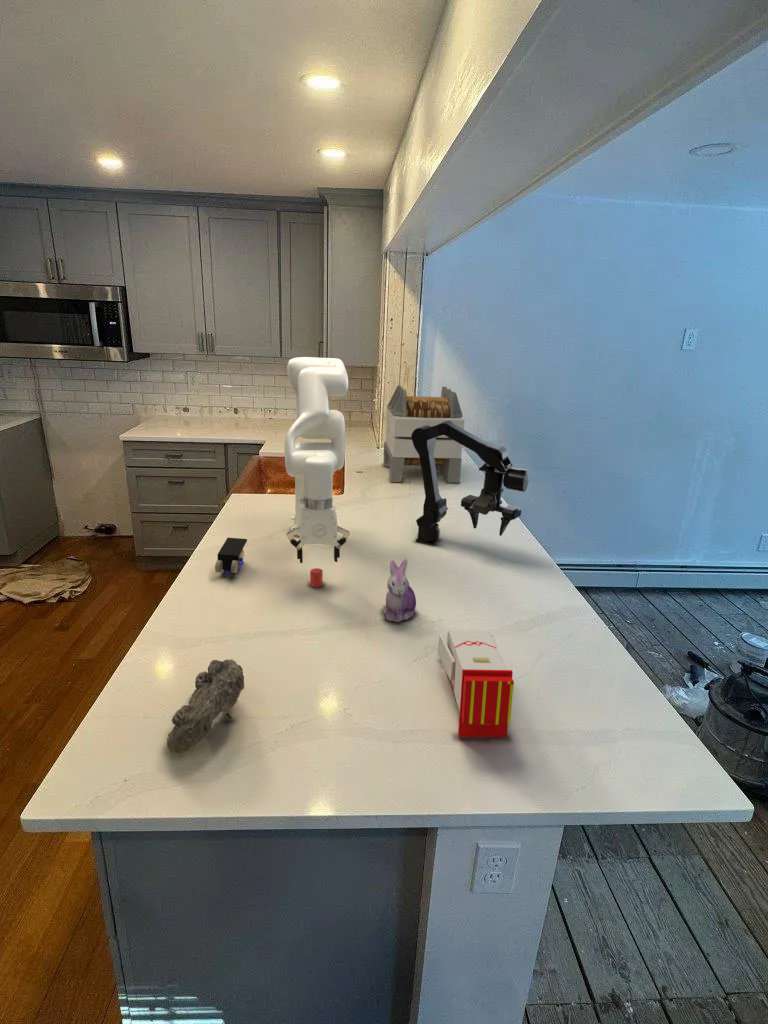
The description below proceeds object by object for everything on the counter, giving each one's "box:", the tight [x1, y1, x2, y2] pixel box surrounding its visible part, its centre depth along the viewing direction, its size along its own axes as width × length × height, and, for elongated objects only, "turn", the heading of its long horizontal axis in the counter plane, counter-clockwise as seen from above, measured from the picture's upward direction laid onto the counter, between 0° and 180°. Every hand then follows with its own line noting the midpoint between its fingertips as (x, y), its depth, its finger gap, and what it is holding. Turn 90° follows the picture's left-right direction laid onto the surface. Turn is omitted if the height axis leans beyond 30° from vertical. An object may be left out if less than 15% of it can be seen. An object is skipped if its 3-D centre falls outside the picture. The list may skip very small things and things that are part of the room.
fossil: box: [166, 658, 245, 754], centre depth 106 cm, size 22×10×15 cm
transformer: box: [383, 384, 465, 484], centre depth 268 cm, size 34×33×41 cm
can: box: [309, 567, 324, 588], centre depth 160 cm, size 4×4×4 cm
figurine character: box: [214, 537, 248, 578], centre depth 166 cm, size 7×8×15 cm
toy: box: [437, 628, 515, 738], centre depth 117 cm, size 12×13×30 cm
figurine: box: [384, 558, 417, 623], centre depth 145 cm, size 9×10×15 cm
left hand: (318, 560), depth 158 cm, fingers open, 9 cm apart
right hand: (487, 531), depth 183 cm, fingers open, 9 cm apart
